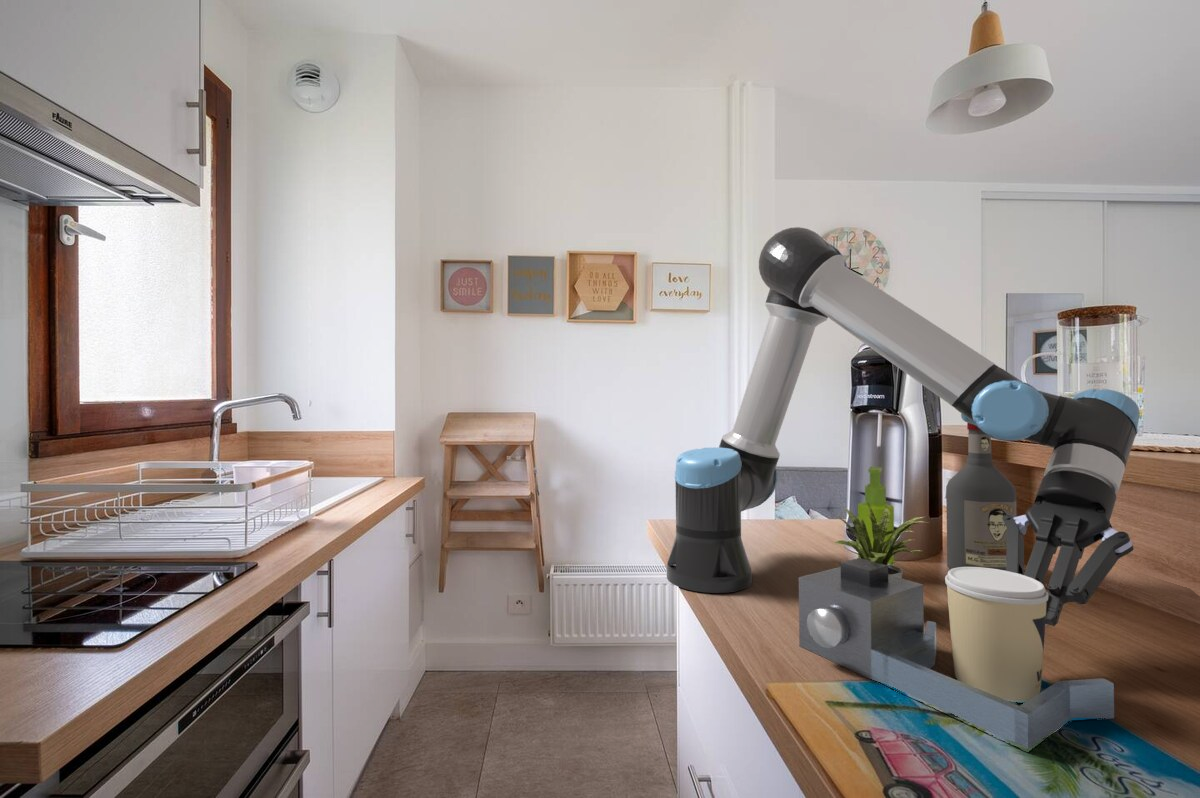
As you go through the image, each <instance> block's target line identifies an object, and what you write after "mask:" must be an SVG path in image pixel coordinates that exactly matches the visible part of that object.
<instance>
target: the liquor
mask: <svg viewBox="0 0 1200 798" xmlns="http://www.w3.org/2000/svg"><path fill="white" fill-rule="evenodd" d="M966 424H967V426H966V427H967V430H968V438H967V439H968V441H967V442H968V443H967V444H968V445H967V446H968V453H967V454H968V455H967V459H966V465H964V466H963V467H962V468H961V469H960V470H959V471H958V472H956V474H954V476H952V477H951V478H950V479H949V480H948V482H947V484H946V486H945V487H946V488H945V489H946V490H945V491H946V492H945V495H946V496H945V497H946V500H945V501H946V504H945V505H946V507H945V508H946V566H947V568H948V571H949V570H951V569H953V568H957V567H983V568H992V569H999V570H1004V571H1006V552H1007V527H1006V525H1005V523H1004V521H1003V519H1002V517H1003V516H1004V515H1011V516H1012V517H1013V518H1014V517H1018V516H1017V490H1016V487H1015V485H1014V484H1013V483H1012V482H1011V481H1010V480H1009V479H1008V478H1007V476H1005V475H1004V474H1003V473H1001V471H1000V470H999V469H998V468H996V467H995V465H994V460H993V458H992V437H991V436H989V435H988V434H986V433H985V432H983V431H982V430H981V429H979V428H978V427H977V426H976V425H973V424H970V423H967V422H966Z"/></svg>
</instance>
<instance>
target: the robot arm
mask: <svg viewBox="0 0 1200 798" xmlns="http://www.w3.org/2000/svg"><path fill="white" fill-rule="evenodd" d="M758 270H759V274H760V278H761V280H762V281H763V283H764V284H765V285H766V287H768V288H769V291H768V294H767V298H766V300H765V303H764V305H765V307H766V309H767V310H768V313H769V318H768V321H767V323H766V327H765V329H764V332H763V336H762V339H761V342H760V345H759V348H758V351H757V354H756V357H755V361H754V363H753V367H752V370H751V373H750V376H749V379H748V381H747V382H748V383H747V385H746V387H745V388H746V389H745V391H744V394H743V397H742V401H741V404H740V406H739V409H738V412H737V416H736V419H735V423H734V425H733V429H732V430H730V431H729V432H727V433H726V434H723V435H722V437H721V440H720V443H719V446H718V447H701V448H694V449H689V450H687V451H684V452H681V453H680V454H679V455H678V457H676V461H675V471H674V480H675V538H674V541H673V544H672V547H671V550H670V553H669V556H668V560H667V563H666V580H667V582H669V583H670V584H672V585H673V586H676V587H679V588H681V589H684V590H688V591H691V592H692V591H693V592H697V593H709V594H711V593H712V594H724V593H725V594H726V593H735V592H739V591H743V590H745V589H747V588H749V587H750V586H751V585H752V579H753V577H752V575H753V573H752V567H751V564H750V561H749V559H748V555H747V553H746V548H745V546H744V543H743V540H742V512H744V511H747V510H750V509H753V508H756V507H758V506H760V505H762V504H764V503H766V501H767V500H768V499H769V498H771V496H772V495H773V493H775V490H776V488H777V486H778V479H779V477H778V471H777V465H778V462H779V459H780V457H781V454H780V452H779V450H778V448H777V446H776V442H777V440H778V437H779V434H780V432H781V428H782V425H783V422H784V420H785V416H786V413H787V411H788V408H789V405H790V402H791V400H792V396H793V393H794V390H795V388H796V384H797V382H798V380H799V377H800V373H801V370H802V368H803V364H804V362H805V359H806V355H807V354H808V353H807V352H808V350H809V348H810V344H811V341H812V338H813V335H814V333H815V329H816V327H817V326H818V325H821V324H823V323H824V322H826V321H828V319H830V320H831V321H833V322H834V323H835V324H837V325H838V326H840V327H841V328H842V329H844V330H845V331H847V332H848V333H849V334H851V335H852V336H854V337H855V338H857V340H859V341H861V342H862V343H863V344H865V345H867V347H869V348H870V349H871V350H873V351H874V352H876V353H877V354H878V355H880V356H881V357H883V358H884V359H886V360H887V361H889V363H891V364H893V365H894V366H896V367H897V368H898V369H900V370H901V371H902V372H903V373H905V374H906V375H908V376H909V377H911V378H912V379H913V380H915V381H916V382H918V383H919V384H921V385H922V386H924V388H925V389H927V390H929V391H931V392H932V393H933V394H934V395H936V396H938V397H939V398H940V399H941V400H943V401H945V402H946V403H947V404H948V405H950V406H951V407H953V408H954V409H955V410H956V411H958V412H959V413H960V417H961V419H962V421H964V422H965V423H966V424H967V423H970V424H973V425H976V426H977V427H978V428H979V429H981V430H982V431H983V432H985V433H986V434H988V435H989V436H991V438H993V439H995V440H1000V441H1005V442H1006V441H1007V442H1008V441H1011V442H1013V441H1016V442H1017V441H1021V440H1024V441H1028V442H1032V443H1035V444H1038V445H1040V446H1045V447H1049V448H1052V449H1053V450H1052V452H1051V455H1050V458H1049V461H1048V463H1047V464H1046V468H1045V470H1044V472H1043V473H1044V474H1043V477H1042V479H1041V482H1040V484H1039V486H1038V490H1037V492H1036V495H1035V498H1034V502H1033V504H1032V506H1031V507H1029V508H1027V510H1026V512H1025V514H1022V515H1018V516H1017V517H1014V518H1013V517H1012V516H1011V515H1004V516H1003V517H1002V519H1003V521H1004V523H1005V525H1006V527H1007V552H1006V571H1009V572H1013V573H1018V574H1021V575H1025V576H1027V577H1030V578H1033V579H1035V580H1037V581H1039V582H1041V583H1042V584H1043V585H1044V582H1045V579H1046V577H1047V574H1048V571H1049V568H1050V566H1051V565H1050V564H1051V562H1052V559H1053V556H1054V555H1056V554H1057V552H1058V554H1057V558H1056V560H1055V563H1054V565H1053V566H1054V567H1053V570H1052V572H1051V576H1050V578H1049V581H1048V583H1045V588H1046V589H1047V590H1048V591H1047V592H1048V601H1046V622H1045V628H1046V626H1047V625H1048V626H1051V627H1055V626H1056V625H1057V624H1058V623H1059V619H1060V617H1061V613H1062V610H1063V606H1064V605H1065V604H1067V603H1076V604H1077V605H1085V604H1087V603H1088V602H1089V600H1090V599H1091V597H1092V596H1093V595H1094V594H1095V592H1096V591H1097V589H1098V588H1099V587H1100V585H1101V584H1102V582H1103V581H1104V579H1105V578H1106V577H1107V576H1108V574H1109V573H1110V572H1111V570H1112V569H1113V567H1114V566H1115V565H1116V563H1117V562H1118V561H1119V559H1122V558H1123V557H1124V556H1126V555H1128V554H1130V553H1131V552H1133V551H1134V550H1135V549H1134V545H1133V543H1132V540H1131V538H1130V536H1129V534H1128V533H1127V532H1125V531H1117V530H1115V529H1114V528H1113V526H1112V524H1111V522H1110V520H1111V518H1112V514H1113V510H1114V507H1115V505H1116V501H1117V495H1118V493H1119V489H1120V487H1121V484H1122V480H1123V478H1124V477H1123V476H1124V474H1125V471H1126V466H1127V463H1128V460H1129V458H1130V457H1129V456H1130V453H1131V451H1132V447H1133V444H1134V442H1135V438H1136V436H1137V434H1138V426H1139V422H1140V421H1139V420H1140V414H1141V413H1140V408H1139V406H1138V404H1137V403H1136V401H1135V400H1134V399H1132V398H1131V397H1130V396H1129V395H1126V394H1125V393H1122V392H1119V391H1118V390H1114V389H1113V390H1112V389H1108V388H1103V389H1094V388H1091V389H1086V390H1083V391H1080V392H1078V393H1077V394H1075V396H1074V397H1073V398H1072V397H1067V396H1062V395H1057V394H1052V393H1049V392H1045V391H1041V390H1038V389H1037V388H1036V387H1034V386H1033V385H1031V384H1030V383H1027V382H1023V381H1022V380H1020V379H1019V378H1017V377H1016V376H1014V375H1013V374H1011V373H1010V372H1009V371H1006V370H1005V369H1004V368H1002V367H999V366H998V365H997V364H996V363H995V362H993V361H991V360H990V359H988V358H987V357H985V355H982V354H981V353H979V352H978V351H976V350H974V349H973V348H972V347H970V346H968V345H967V344H965V343H964V342H962V341H960V340H959V339H957V338H956V337H955V336H953V335H952V334H950V333H948V332H947V331H945V330H944V329H942V328H940V327H939V326H938V325H936V324H934V323H933V322H931V321H930V320H928V319H927V318H925V317H923V315H921V314H919V313H918V312H916V311H914V309H913V310H912V309H911V308H910V307H908V306H907V305H905V304H904V303H902V302H901V301H899V300H898V299H896V298H895V297H893V296H891V294H888V293H887V292H885V291H883V289H880V288H879V287H877V286H876V285H875V284H873V283H872V282H870V281H868V280H867V279H865V278H864V277H863V276H861V275H859V274H857V273H856V272H854V271H853V270H851V269H850V268H849V267H848V264H847V262H846V260H845V258H844V256H843V254H842V253H841V251H840V250H839V249H838V248H837V247H835V246H834V245H832V244H831V243H829V242H828V241H826V240H825V239H824V238H823V237H822V236H820V235H819V233H816V232H815V231H813V230H811V229H808V228H805V227H801V226H799V227H798V226H797V227H789V228H785V229H782V230H781V231H779V232H776V233H775V234H774V235H772V237H770V238H769V239H768V240H767V241H766V243H764V245H763V247H762V250H760V255H759V257H758ZM1029 525H1030V526H1031V529H1032V530H1033V531H1034V533H1035V543H1034V545H1033V546H1032V547H1033V548H1032V550H1031V553H1030V556H1029V558H1028V562H1027V564H1026V567H1025V540H1024V538H1025V537H1024V535H1025V534H1027V533H1026V532H1027V530H1028V527H1029ZM1098 541H1101V542H1100V543H1099V545H1098V546H1097V547H1096V548H1095V550H1094V551H1093V552H1092V554H1091V555H1090V557H1088V559H1087V560H1086V562H1085V563H1084V564H1083V566H1082V567H1081V568H1080V570H1079V571H1078V572H1077V574H1076V571H1077V568H1078V565H1079V561H1080V560H1082V558H1083V555H1084V551H1085V548H1088V547H1090V546H1092V545H1093V544H1095V543H1097V542H1098ZM1059 547H1060V548H1059ZM1058 548H1059V551H1057V550H1058ZM1075 574H1076V575H1075Z"/></svg>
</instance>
